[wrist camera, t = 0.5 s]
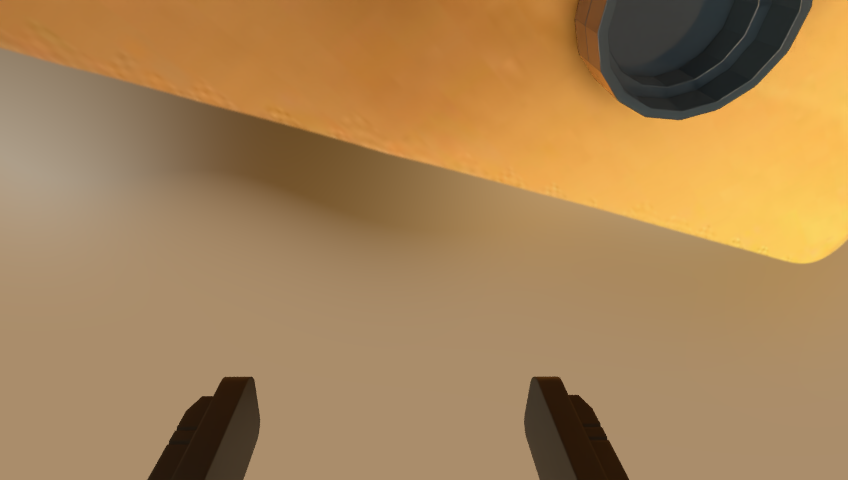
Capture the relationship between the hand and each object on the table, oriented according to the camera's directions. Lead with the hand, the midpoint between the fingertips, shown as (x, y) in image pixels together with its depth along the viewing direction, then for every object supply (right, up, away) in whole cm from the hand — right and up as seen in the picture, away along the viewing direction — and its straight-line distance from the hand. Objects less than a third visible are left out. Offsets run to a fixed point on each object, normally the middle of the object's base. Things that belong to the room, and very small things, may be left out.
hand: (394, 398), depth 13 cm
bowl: (+16, +20, +16) cm, 30 cm away
